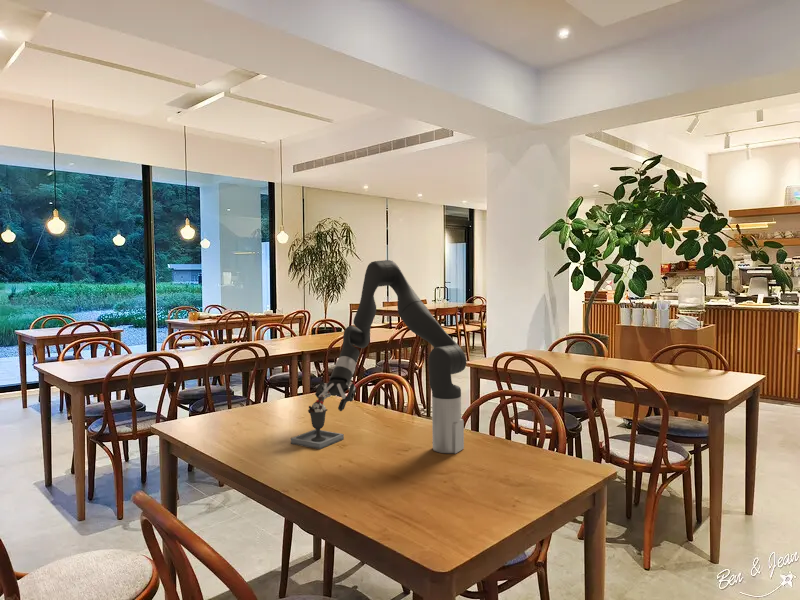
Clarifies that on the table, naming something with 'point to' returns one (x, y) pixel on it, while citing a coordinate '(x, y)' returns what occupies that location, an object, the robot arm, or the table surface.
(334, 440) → the tray
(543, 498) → the table surface
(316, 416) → the sundae
